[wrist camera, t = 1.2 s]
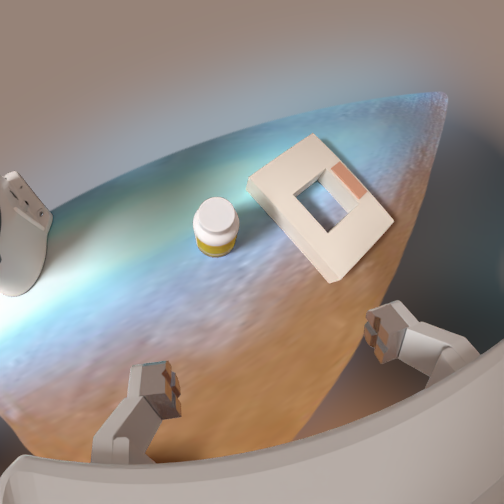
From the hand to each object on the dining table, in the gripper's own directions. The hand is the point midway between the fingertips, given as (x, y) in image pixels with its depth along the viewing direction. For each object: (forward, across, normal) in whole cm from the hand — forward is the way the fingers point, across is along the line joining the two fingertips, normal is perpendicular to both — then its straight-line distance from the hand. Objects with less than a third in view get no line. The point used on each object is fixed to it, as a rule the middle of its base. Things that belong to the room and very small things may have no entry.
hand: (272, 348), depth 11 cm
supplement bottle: (+29, +2, +9) cm, 30 cm away
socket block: (+31, -14, +8) cm, 35 cm away
